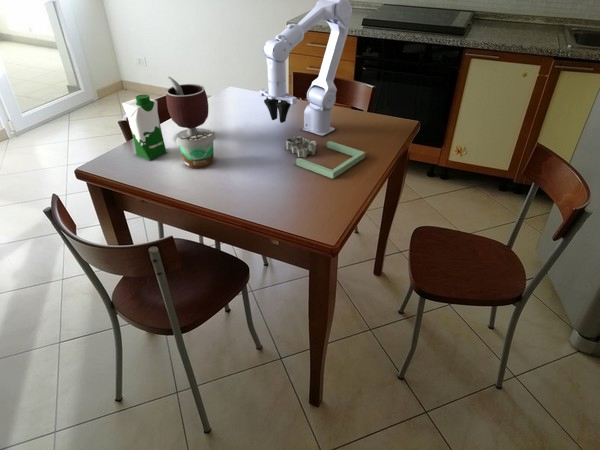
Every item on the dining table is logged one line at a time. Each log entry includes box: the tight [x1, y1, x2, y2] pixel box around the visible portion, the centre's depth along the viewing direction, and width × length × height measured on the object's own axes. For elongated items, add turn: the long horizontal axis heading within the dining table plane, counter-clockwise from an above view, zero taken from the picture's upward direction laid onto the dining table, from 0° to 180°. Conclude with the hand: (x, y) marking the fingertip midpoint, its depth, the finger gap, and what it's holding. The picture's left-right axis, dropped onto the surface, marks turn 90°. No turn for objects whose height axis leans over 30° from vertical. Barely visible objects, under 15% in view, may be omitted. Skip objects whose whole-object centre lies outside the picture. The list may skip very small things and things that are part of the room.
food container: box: [175, 129, 216, 170], centre depth 133 cm, size 12×6×10 cm, turn 117°
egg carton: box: [284, 135, 318, 158], centre depth 143 cm, size 11×8×4 cm
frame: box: [295, 140, 366, 180], centre depth 137 cm, size 14×18×2 cm
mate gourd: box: [165, 76, 211, 140], centre depth 149 cm, size 16×14×20 cm
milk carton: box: [121, 94, 167, 161], centre depth 137 cm, size 9×9×20 cm
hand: (278, 120), depth 144 cm, fingers open, 3 cm apart
